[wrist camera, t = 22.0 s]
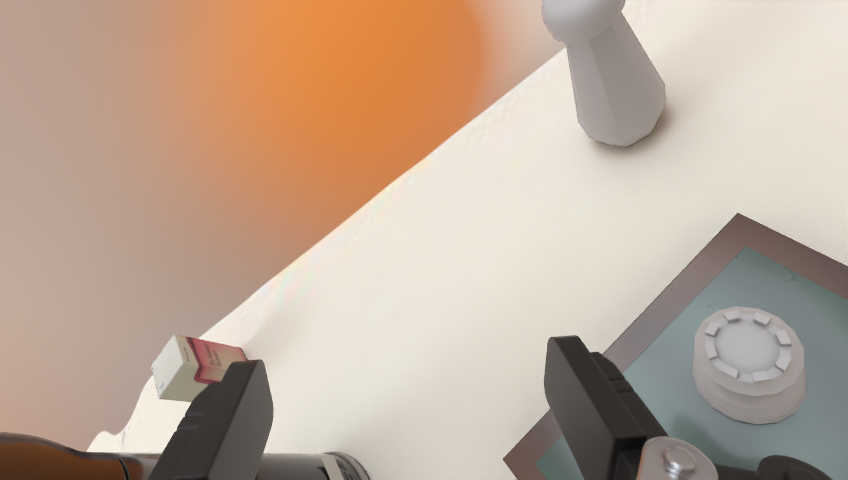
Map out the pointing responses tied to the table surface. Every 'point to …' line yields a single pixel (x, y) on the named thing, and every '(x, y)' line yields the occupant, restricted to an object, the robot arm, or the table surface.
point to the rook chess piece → (749, 365)
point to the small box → (191, 366)
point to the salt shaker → (607, 70)
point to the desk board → (674, 347)
